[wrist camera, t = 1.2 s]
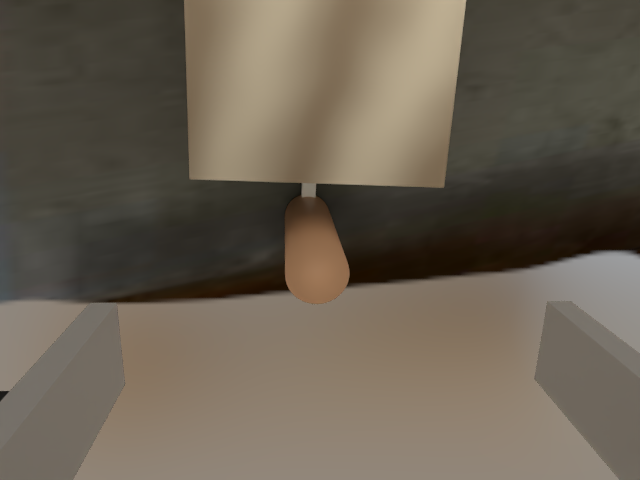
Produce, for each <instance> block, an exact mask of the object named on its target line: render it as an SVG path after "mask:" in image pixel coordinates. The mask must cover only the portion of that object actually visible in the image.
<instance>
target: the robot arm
mask: <svg viewBox="0 0 640 480" xmlns="http://www.w3.org/2000/svg"><path fill="white" fill-rule="evenodd" d="M117 311H118V310H117V303H90V304H89V305H88V306H87V307H86V308H85V309H84V310H83V311H82V312H81V314H80V315H79V316H78V317H77V318H76V319H75V320H74V321H73V322H72V323H71V325H70V326H69V327H68V328H67V329H66V330H65V331H64V332H63V333H62V334H61V335H60V337H59V338H58V339H57V340H56V341H55V342H54V343H53V344H52V345H51V346H50V348H49V349H48V350H47V351H46V352H45V353H44V354H43V355H42V356H41V357H40V358H39V360H38V361H37V362H36V363H35V364H34V365H33V366H32V367H31V368H30V370H29V371H28V372H27V373H26V374H25V375H24V376H23V377H22V378H21V379H20V380H19V382H18V383H17V384H16V385H15V386H14V387H13V388H12V389H11V390H10V391H0V480H73V479H74V477H75V475H76V473H77V472H78V470H79V468H80V466H81V464H82V462H83V461H84V459H85V457H86V455H87V453H88V451H89V449H90V448H91V446H92V444H93V442H94V441H95V439H96V437H97V435H98V433H99V431H100V429H101V428H102V426H103V424H104V422H105V420H106V419H107V417H108V414H109V413H110V411H111V409H112V408H113V405H114V404H115V402H116V400H117V398H118V396H119V395H120V393H121V391H122V389H123V387H124V386H125V380H124V370H123V360H122V350H121V340H120V330H119V322H118V312H117ZM535 380H536V381H537V383H538V384H539V385H540V386H541V387H542V388H543V390H544V391H545V392H546V393H547V395H548V396H549V397H550V398H551V399H552V400H553V402H554V403H555V404H556V405H557V406H558V408H559V409H560V410H561V411H562V412H563V413H564V415H565V416H566V417H567V418H568V419H569V421H570V422H571V423H572V424H573V425H574V426H575V428H576V429H577V430H578V431H579V432H580V434H581V435H582V436H583V437H584V438H585V440H586V441H587V442H588V443H589V444H590V445H591V447H593V449H594V450H595V451H596V452H597V454H598V455H599V456H600V457H601V458H602V460H603V461H604V462H605V463H606V464H607V466H608V467H609V468H610V469H611V470H612V472H613V473H614V474H615V475H616V476H617V477H618V478H619V480H640V353H638V352H637V351H636V350H634V349H633V348H632V347H630V346H629V345H628V344H626V343H625V342H624V341H622V340H621V339H620V338H618V337H617V336H616V335H614V334H613V333H612V332H611V331H609V330H608V329H607V328H605V327H604V326H603V325H601V324H600V323H599V322H597V321H596V320H595V319H593V318H592V317H591V316H589V315H588V314H587V313H586V312H584V311H583V310H581V309H580V308H579V307H578V306H576V305H575V304H574V303H572V302H571V301H561V302H560V301H551V302H547V306H546V312H545V319H544V325H543V331H542V336H541V342H540V348H539V354H538V360H537V366H536V372H535Z"/></svg>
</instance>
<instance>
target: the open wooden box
mask: <svg viewBox="0 0 640 480" xmlns="http://www.w3.org/2000/svg"><path fill="white" fill-rule="evenodd" d="M465 6H466V0H184V11H185V44H186V78H187V111H188V145H189V178H190V179H196V180H226V181H257V182H287V183H318V184H348V185H379V186H409V187H440V188H444V183H445V174H446V166H447V157H448V149H449V141H450V132H451V124H452V115H453V107H454V98H455V90H456V82H457V73H458V65H459V56H460V48H461V39H462V31H463V23H464V14H465Z"/></svg>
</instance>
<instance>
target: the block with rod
mask: <svg viewBox="0 0 640 480" xmlns="http://www.w3.org/2000/svg"><path fill="white" fill-rule="evenodd" d="M285 279H286V283H287V286H288V288H289V290H290V291H291V292H292V294H293V295H294V296H296V297H297V298H298V299H300V300H302V301H304V302H307V303H311V304H322V303H326V302H329V301H331V300H333V299H335V298H337V297H338V296H339V295H340V294H341V293H342V292H343V291H344V289H345V288H346V286H347V283H348V280H349V266H348V263H347V260H346V257H345V254H344V251H343V249H342V246H341V243H340V240H339V237H338V234H337V232H336V229H335V226H334V223H333V220H332V218H331V215H330V212H329V209H328V207H327V205H326V203H325V202H324V201H323V200H322V199H321V198H319V197H318V196H316V183H302V190H301V195H299V196H297V197H295V198H294V199H293V200H292V201H291V202H290V203H289V204H288V206H287V208H286V211H285Z"/></svg>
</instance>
